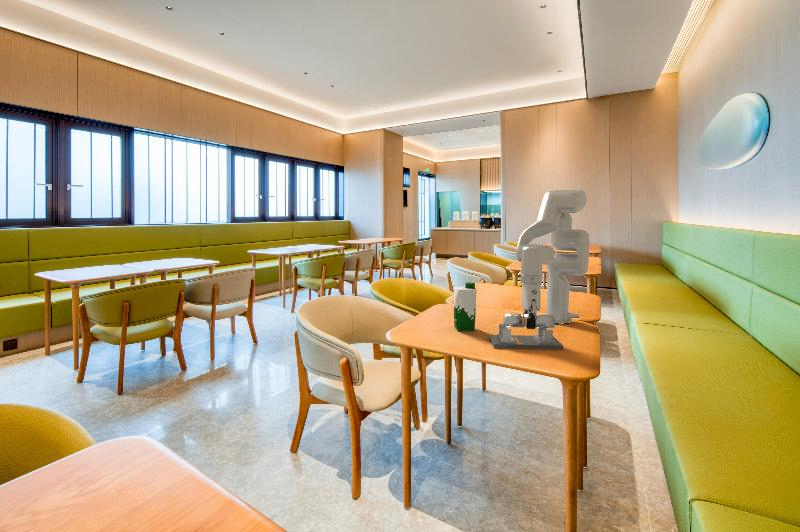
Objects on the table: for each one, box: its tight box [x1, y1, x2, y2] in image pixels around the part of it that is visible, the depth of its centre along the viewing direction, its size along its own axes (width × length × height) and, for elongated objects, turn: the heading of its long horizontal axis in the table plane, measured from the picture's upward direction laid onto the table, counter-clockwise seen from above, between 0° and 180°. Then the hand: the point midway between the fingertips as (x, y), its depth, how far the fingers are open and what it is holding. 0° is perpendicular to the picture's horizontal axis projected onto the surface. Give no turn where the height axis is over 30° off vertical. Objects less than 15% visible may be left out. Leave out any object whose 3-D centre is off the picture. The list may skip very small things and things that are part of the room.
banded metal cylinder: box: [503, 313, 556, 329], centre depth 154 cm, size 18×5×5 cm, turn 86°
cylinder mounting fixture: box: [488, 323, 564, 351], centre depth 155 cm, size 25×12×6 cm, turn 86°
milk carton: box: [453, 281, 477, 332], centre depth 174 cm, size 9×9×20 cm
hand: (528, 326), depth 154 cm, fingers closed on banded metal cylinder, 5 cm apart
